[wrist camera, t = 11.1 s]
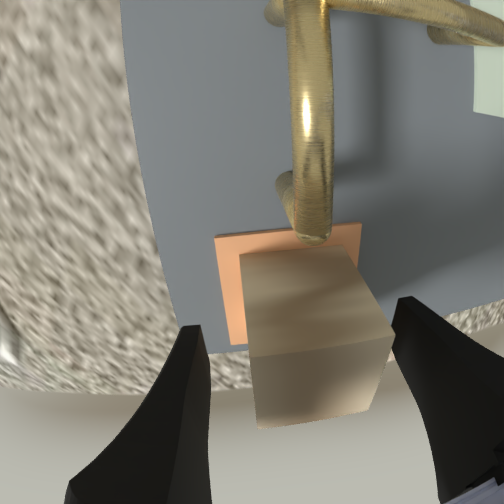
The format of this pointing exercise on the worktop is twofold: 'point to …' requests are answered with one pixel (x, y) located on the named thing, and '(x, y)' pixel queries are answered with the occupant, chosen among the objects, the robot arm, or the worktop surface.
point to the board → (345, 155)
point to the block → (311, 335)
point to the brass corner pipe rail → (322, 89)
